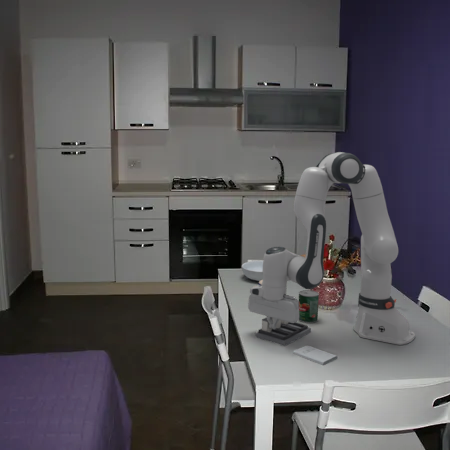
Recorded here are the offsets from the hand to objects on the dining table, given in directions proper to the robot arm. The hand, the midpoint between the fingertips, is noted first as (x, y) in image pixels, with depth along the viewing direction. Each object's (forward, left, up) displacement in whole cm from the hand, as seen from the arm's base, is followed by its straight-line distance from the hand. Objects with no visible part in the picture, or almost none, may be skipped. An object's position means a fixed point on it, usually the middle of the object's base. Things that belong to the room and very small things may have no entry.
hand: (272, 328), depth 207 cm
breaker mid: (+3, -6, -2) cm, 6 cm away
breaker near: (+2, -11, -2) cm, 12 cm away
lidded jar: (+39, -91, -4) cm, 99 cm away
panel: (-1, -6, -4) cm, 7 cm away
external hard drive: (-20, +4, -4) cm, 21 cm away
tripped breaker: (+3, 0, -2) cm, 3 cm away
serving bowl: (+48, -61, -4) cm, 77 cm away
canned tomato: (0, -26, -4) cm, 26 cm away
